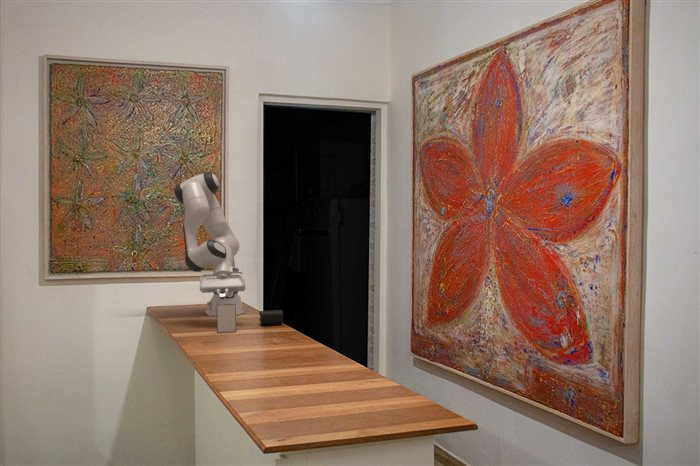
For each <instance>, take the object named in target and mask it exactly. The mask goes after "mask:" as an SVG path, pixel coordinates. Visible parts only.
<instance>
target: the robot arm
mask: <svg viewBox="0 0 700 466" xmlns="http://www.w3.org/2000/svg"><path fill="white" fill-rule="evenodd" d="M219 185H220V184H219V179H218V177H217V176H216V175H215V174H214V172H212V171H205V172H203V173H200V174H196V175H195V176H192V177H191V178H189V179H186V180H184V181H183V182H180V183H178V184H177V185H176V186H175V187H174V190H173V192H174V196H175V199H176V200H177V201H178V202H179V204H182V205H183V206H184V220H183V223H182V231H183V240H184V241H183V243H184V249H185V252H184V253H185V254H184V262H185V266H186V267H187V268H188V269H189V270H190V271H192V272H197V273H199V272H201V271H203V270H204V269H205V268H206V267H208V266H209V265H211V264H212V266H213V269H212V270H213V271H212V273H211V274H203V275H201V276H199V282H200V283H199V291H200V293H203V294H206V293H213V295H212V297H211V298H210V300H209V301H208V302H207V303H206V304H207V307H209V309H205V313H206V315H207V316H209V317H212V316H213V317H217V304H236V316H239V315H241V314H245V310H243V307H242V296H241V295H239V292H244V291H246V281H245V277H244V275H243V270H242V268H238V267H236V263H235V256H236V255H237V254H238V252H239V250H240V242H239V240H238V239H237V238H236V236H235V234H234V232H233V229H232V228H231V227H230V226H229V223H228V221H227V218H226V217H225V214H224V212H223V209H222V206H221V205H220V202H219V201H218V199H217V197H216V195H217V192H218V190H219V187H220V186H219ZM202 225H203V226H204V228H205V231H206V233H208V235H209V236H210V238H211V239H208V240H206V241H204V242H203V243H201V244H200V245H199V246H198V240H197V239H198V238H197V234H198V232H199V229H200V228H201V226H202Z"/></svg>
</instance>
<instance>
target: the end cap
mask: <svg viewBox="0 0 700 466" xmlns="http://www.w3.org/2000/svg"><path fill="white" fill-rule="evenodd" d="M258 315H259V319H258V320H259V326H261V327H265V326H281V325H282V324H283V322H284V312H283V309H274V310H260V311H259V314H258Z"/></svg>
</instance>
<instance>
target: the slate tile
mask: <svg viewBox="0 0 700 466" xmlns="http://www.w3.org/2000/svg"><path fill="white" fill-rule="evenodd" d="M216 330H217V334H219V333H224V334H225V333H236V332H237V315H236V304H217V316H216Z"/></svg>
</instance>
